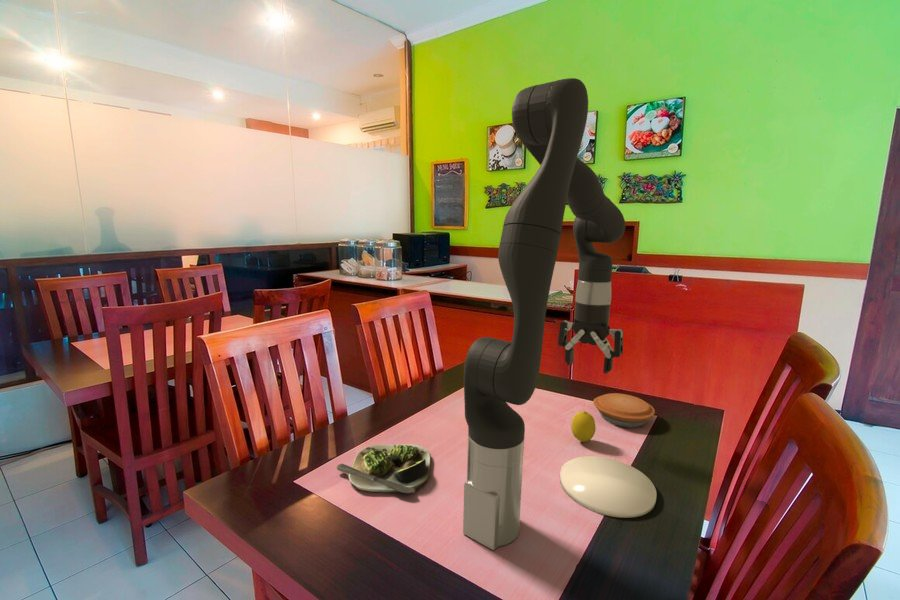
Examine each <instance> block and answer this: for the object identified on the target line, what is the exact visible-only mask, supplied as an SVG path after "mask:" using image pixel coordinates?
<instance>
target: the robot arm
mask: <svg viewBox="0 0 900 600" xmlns="http://www.w3.org/2000/svg"><path fill="white" fill-rule="evenodd" d="M513 99H514V100H513V102H512V107H511V120H512V121H511V122H512V126H513V129H514V132H515V133H516V135H517V138H518V139H519V141H520V142H521V144H522V145H523V146H524V148H525V149H526V150H527V151H528V152H529V153H530V154H531V156H532V157H533V158H534V159H535V161H536V162H537V163H538V164H539V165H540V166H539V168H538V170H537V171H536V173H535V174H534V176H532V178H531V180H530V181H529V182H528V183H527V184H526V185H525V187H524V188H523V189H522V191H520V193H519V195H518V196H517V197H516V199H514V201H513V203H512V204H511V206H510V207H509V209H508V210H507V213H506V215H505V218H504V221H503V225H502V230H501V236H500V240H499V246H498V254H497V255H498V256H497V258H498V264H499V269H500V272H501V275H502V278H503V280H504V283H505V286H506V289H507V291H508V294H509V297H510V300H511V304H512V307H513V308H512V309H513V329H512V330H513V332H512V337H511V338H512V339H511V341H508V340H504V339H499V338H494V337H490V336H489V337H488V336H482V337H479V338H477V339H476V340H474V341H473V343H472V344H471V346H469V348H468V351H467V354H466V356H465V361H464V367H463V393H464V394H463V395H464V396H463V397H464V399H463V400H464V419H465V422H466V424H467V427H468V430H467V435H468V436H467V460H466V461H467V465H466V467H467V469H466V480H465V482H464V484H463V487H464V488H463V512H462V513H463V515H462V516H463V517H462V519H463V520H462V534H464V535H465V536H467V537H469V538H471V539H472V540H474V541H476V542H477V543H479V544H481V545H482V546H485V547H486V548H488V549H490V550H492V551H495V550H496V549H497V548H498V547H502V546H506V545H509V544H511V543H512V542H513V541H515V540H516V539H517V538H518V535H519V534H520V523H521V522H520V521H521V503H522V502H521V501H522V487H523V486H522V485H523V483H522V482H523V467H524V451H525V433H526V432H525V431H526V427H525V426H526V424H525V421H524V418H522V416H521V415H520V414H519V413H518V411H516V410H515V409H513V408H512V407H511V406H510V405H515V406H522V405H525V404H526V403H527V402H528V401H530V399H531V398H532V396H533V394H534V392H535V390H536V387H537V384H538V379H539V374H540V370H541V362H542V355H543V354H542V353H543V342H544V333H545V325H546V316H547V308H548V302H549V301H548V300H549V295H550V291H551V286H552V278H553V275H554V270H555V265H556V262H557V257H558V254H559V253H558V252H559V247H560V241H561V236H562V231H563V223H564V218H565V217H564V216H565V210H566V206H567V205H568V207H569V209H570V212H571V214H572V215H574V217H575V218H574V221H573V223H572V232H573V236H574V240H575V244H576V250H577V257H578V274H577V275H578V277H577V285H576V289H575V301H574V304H575V305H574V315H573V318H574V321H573V322H572V321H569V320H568V319H565V320H563V321H562V322H560V323H559V330H558V331H559V332H558V339H557V345H558V346H559V347H562V348H564V349H565V350H564V351H565V353H564V354H565V355H564V361H565V363H566V365H567V366H571V365H573V363H574V353H575V348H574V347H575V346H576V344H578V343H579V342H580V343H581V344H589V345H590V346H598V348H599V350H600V351H601V352H603V354H604V355H605V357H604V359H603V374H604V375H605V374H606V375H607V374H608V373H610V372H611V371H612V369H613V363H614V358H619V357H620V356H622V355H623V353H624V330H623V329H622V328H618V329H614V328H610V313H611V302H612V272H613V258H612V256H610V255H609V254H606V253H603V252H600V251H598V250H596V248H595V247H594V243H598V244H599V243H601V244H611V243H616V242H618V241H619V240H621V238H622V237H623V236H624V233H625V230H626V220H625V217H624V214H623V213H622V211H621V210H620V208H619V207H618V206H617V205H616V204H615V203H614V202H613V201H612V200H611V199H610V198H609V197H608V196H606V194H605V193H604V189H603V187H602V184H601V182H600V179H599V178H598V176H597V174H596V173H595V171H594V170H593V169H592V168H591V167H590V166H589V165H588V164H586V163H585V162H584V161H582V160H581V159H580V158H578V155H579V152H580V148H581V145H582V140H583V137H584V134H585V130H586V126H587V120H588V114H589V94H588V90H587V87H586V85H585V83H584V82H583V81H582V80H581V79H579V78H575V77H574V78H573V77H572V78H571V77H568V78H562V79H556V80H554V81H549V82H545V83H541V84H535V85H531V86H528V87H525V88H523V89H520V91H518V93H517V94H516V95H515V97H514V98H513ZM571 329H572V332H573V333H574V334H575V335H574V336H573V337H572V338H571V339H570V340H569V341H568V334H569V333H568V332H569V331H570V330H571ZM610 335H611V339H613V340H614V342H613V343H614V344H613V347H614V349H613V348H612V346H611V344H610V342H609V340H608V338H607V337H608V336H610ZM509 404H510V405H509Z"/></svg>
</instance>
